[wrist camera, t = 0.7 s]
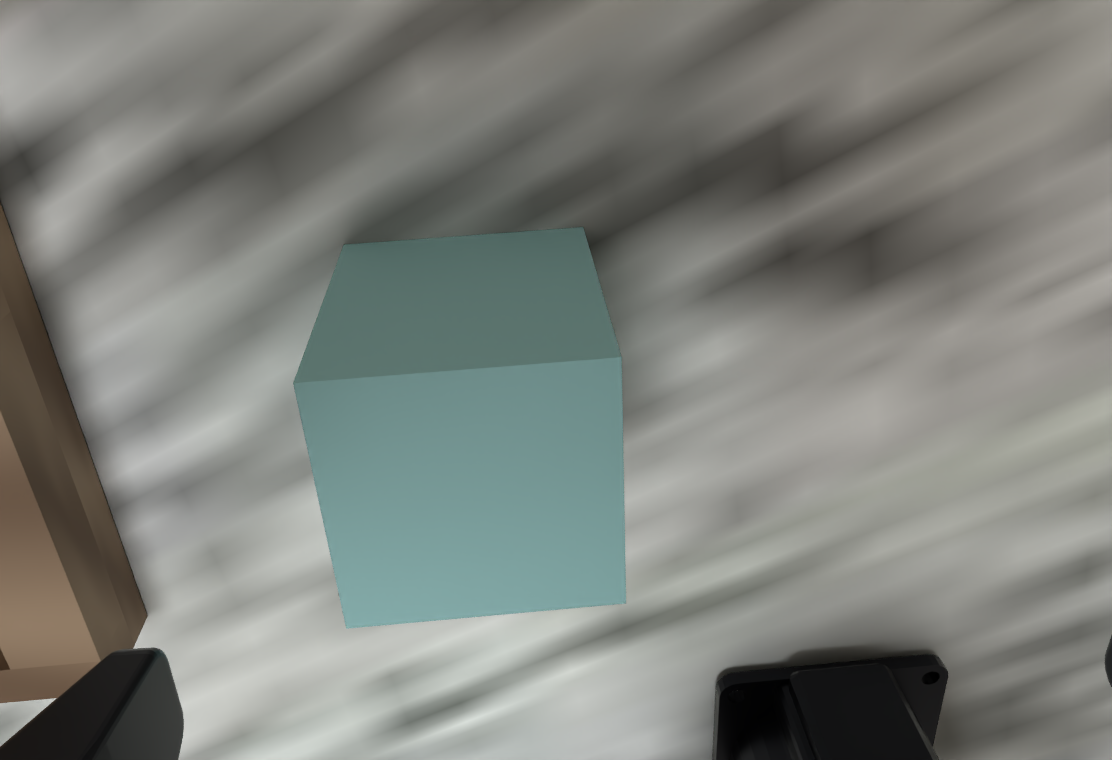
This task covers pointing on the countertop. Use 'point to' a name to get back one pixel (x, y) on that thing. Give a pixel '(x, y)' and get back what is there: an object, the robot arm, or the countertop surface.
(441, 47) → the countertop surface
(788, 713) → the robot arm
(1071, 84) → the countertop surface
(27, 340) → the puzzle board
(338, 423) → the teal block
